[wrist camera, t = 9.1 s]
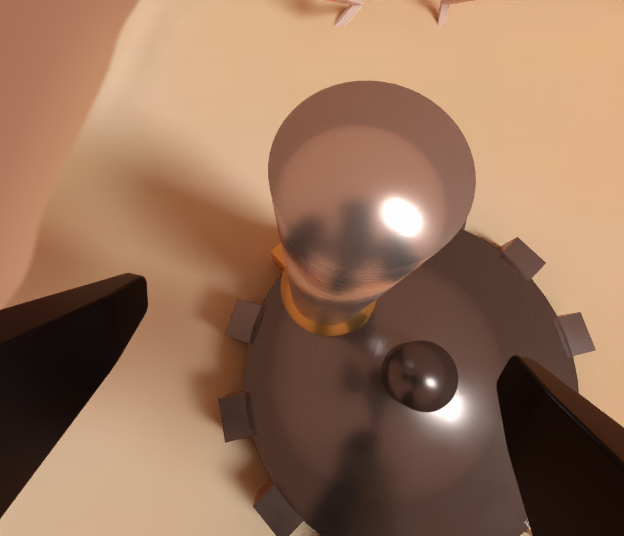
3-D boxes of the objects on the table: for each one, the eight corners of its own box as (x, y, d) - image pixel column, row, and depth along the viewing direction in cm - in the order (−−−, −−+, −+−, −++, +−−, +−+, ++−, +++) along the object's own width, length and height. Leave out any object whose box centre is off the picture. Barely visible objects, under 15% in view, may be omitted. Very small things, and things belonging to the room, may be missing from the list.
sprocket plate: (553, 638, 15) (615, 708, 12) (170, 506, 16) (139, 540, 13) (597, 261, 19) (651, 243, 16) (290, 171, 20) (287, 139, 17)
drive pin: (367, 326, 17) (485, 272, 6) (289, 324, 16) (262, 266, 6) (366, 251, 17) (466, 84, 7) (291, 249, 17) (272, 77, 7)
